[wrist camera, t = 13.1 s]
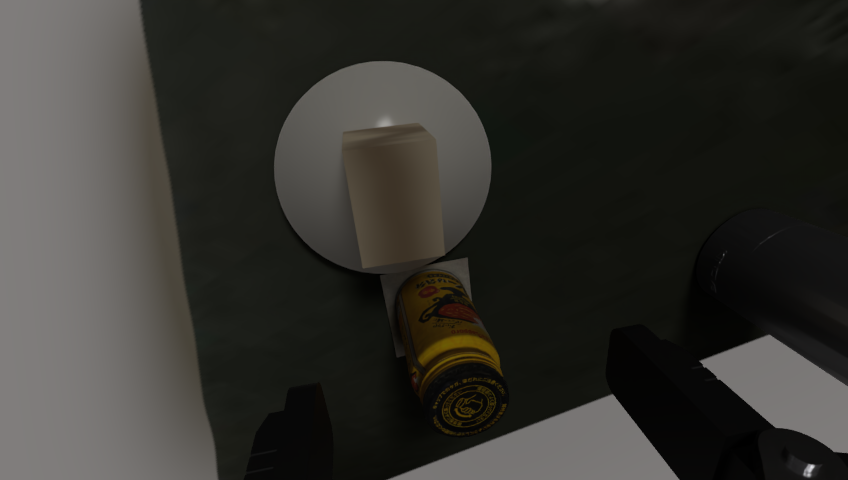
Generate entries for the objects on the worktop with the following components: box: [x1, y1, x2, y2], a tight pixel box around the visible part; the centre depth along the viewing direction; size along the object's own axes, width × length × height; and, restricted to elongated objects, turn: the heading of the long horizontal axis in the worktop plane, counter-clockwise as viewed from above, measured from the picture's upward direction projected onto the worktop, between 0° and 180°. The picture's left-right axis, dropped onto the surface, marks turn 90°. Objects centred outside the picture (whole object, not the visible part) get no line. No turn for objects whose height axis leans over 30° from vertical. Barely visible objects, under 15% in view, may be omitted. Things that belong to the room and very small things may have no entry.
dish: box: [274, 61, 491, 274], centre depth 29 cm, size 15×15×1 cm
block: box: [342, 123, 445, 268], centre depth 26 cm, size 5×7×6 cm
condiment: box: [380, 258, 509, 438], centre depth 29 cm, size 7×8×12 cm
